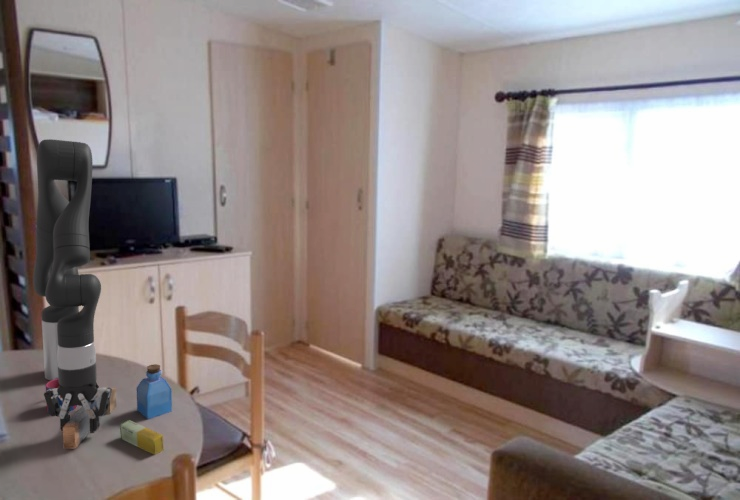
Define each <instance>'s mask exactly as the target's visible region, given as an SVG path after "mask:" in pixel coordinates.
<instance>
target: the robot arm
mask: <svg viewBox="0 0 740 500" xmlns="http://www.w3.org/2000/svg"><path fill="white" fill-rule="evenodd" d="M36 150H37V151H36V171H37V173H36V174H37V209H36V210H37V211H36V218H35V219H36V222H35V225H36V226H35V240H36V241H35V243H36V245H35V246H36V249H35V258H34V259H35V261H34V268H33V275H32V285H33V290H34V292H35V294H36V295H37V296H40V297H45V300H46V302H47V303H48V306H46V307H44V308H43V309H42V311H41V329H42V330H41V332H42V333H41V334H42V345H43V346H42V347H43V348H42V349H43V367H44V379H46V380H47V381H52V380H54V379H56V378H57V377H58V381H59V387H58V388H55V389H54V388H50V389H49V390H47V391H46V390H45V392H44V394H43V396H44V400H45V402H46V407H47V406H48V409H49V412H48V414H49V415H50V416H51V417H58V419H59V425H60V431H61V432H63V427H64V426H65V425H66V424H67V422H68V421H69V420H70V419H71V414H69V413H70V412H71V411H70V408H71V406H75V405H77V406H80V407H82V406H84V409H85V410H86V411H87V412H88V414H89V416H90V419H89V420H90V431H89V434H95V432H97V430H98V429H99V428H100V419H99V416H102V417H103V416H104V415H106V414H105V412H106V411H107V410H108V406H109V401H110V396H111V392H112V389H111V388H112V387H106V388H107V389H103V388H104V387H99V385H98V383H97V380H98V379H97V378H98V377H97V376H98V375H97V354H96V350H97V349H96V346H95V336H94V335H95V334H94V331H95V330H94V329H95V328H94V323H95V314H96V310H97V306H98V303H99V299H100V296H101V292H102V284H101V281H100V279H99V278H98V277H97V275H95V274H92V273H83V274H82V273H80V274H79V269H78V267H81V266H84V265H86V264H88V263H89V262H90V260H91V259H90V258H91V250H90V247H91V246H90V232H89V230H90V229H89V226H90V225H89V221H90V220H89V219H90V218H89V217H90V211H91V210H90V208H91V201H92V199H91V198H92V187H93V185H92V183H93V155H92V150H91V147H90V146H89V144H87V143H86V142H81V141H72V140H62V139H51V138H50V139H49V138H48V139H43V140H40V142H39V144H38V147H37V149H36ZM55 181H69V182H72V181H73V182H76V187H75V188H76V189H75V192H74V195H73V196H72V198H71V199H70V200H68V199H67V198H66V197H65V196H64V195H63V194H62V192H61V191H60V190H59V188H58V187H57V184H56V182H55ZM81 306H82V308H81V310H80V309H79V307H81ZM79 310H80V311H79ZM96 393H98V394H99V398H100V399H101V403H100V407H99V408H98V406H97V401H96V399H95V397H94V396H95V395H96ZM58 394H59V395H60V396H61V397H62V399H63V400H64V402H63V404H62V407H61V408H60V405H59V402H58V398H57V396H58ZM69 411H70V412H69Z"/></svg>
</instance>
